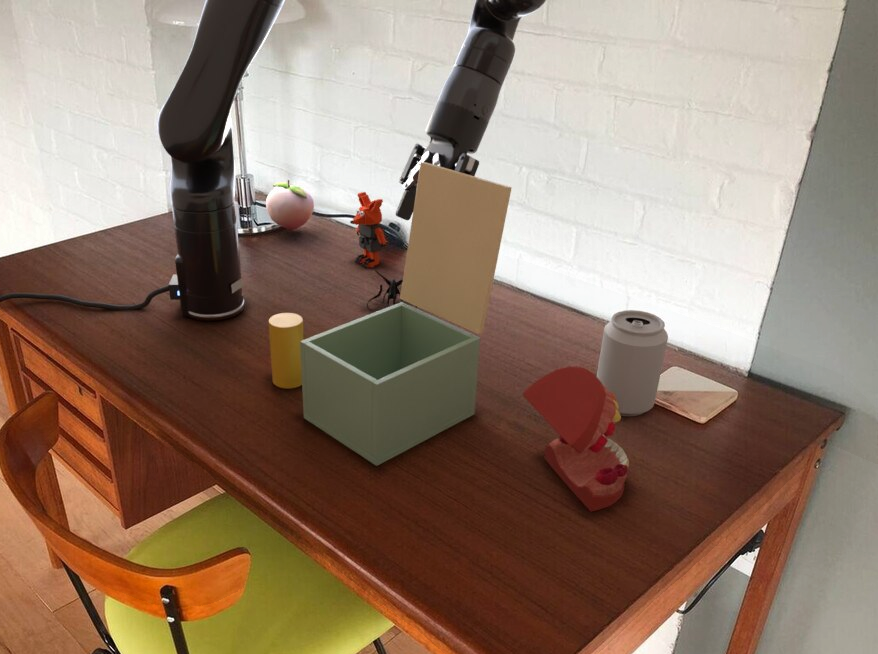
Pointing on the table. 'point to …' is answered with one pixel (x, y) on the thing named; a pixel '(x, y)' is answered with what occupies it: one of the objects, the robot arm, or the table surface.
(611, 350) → the can
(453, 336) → the green open box
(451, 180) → the lid
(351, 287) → the table surface
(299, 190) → the decorative fruit
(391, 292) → the creature
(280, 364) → the round shape
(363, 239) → the toy animal
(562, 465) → the anatomical model
